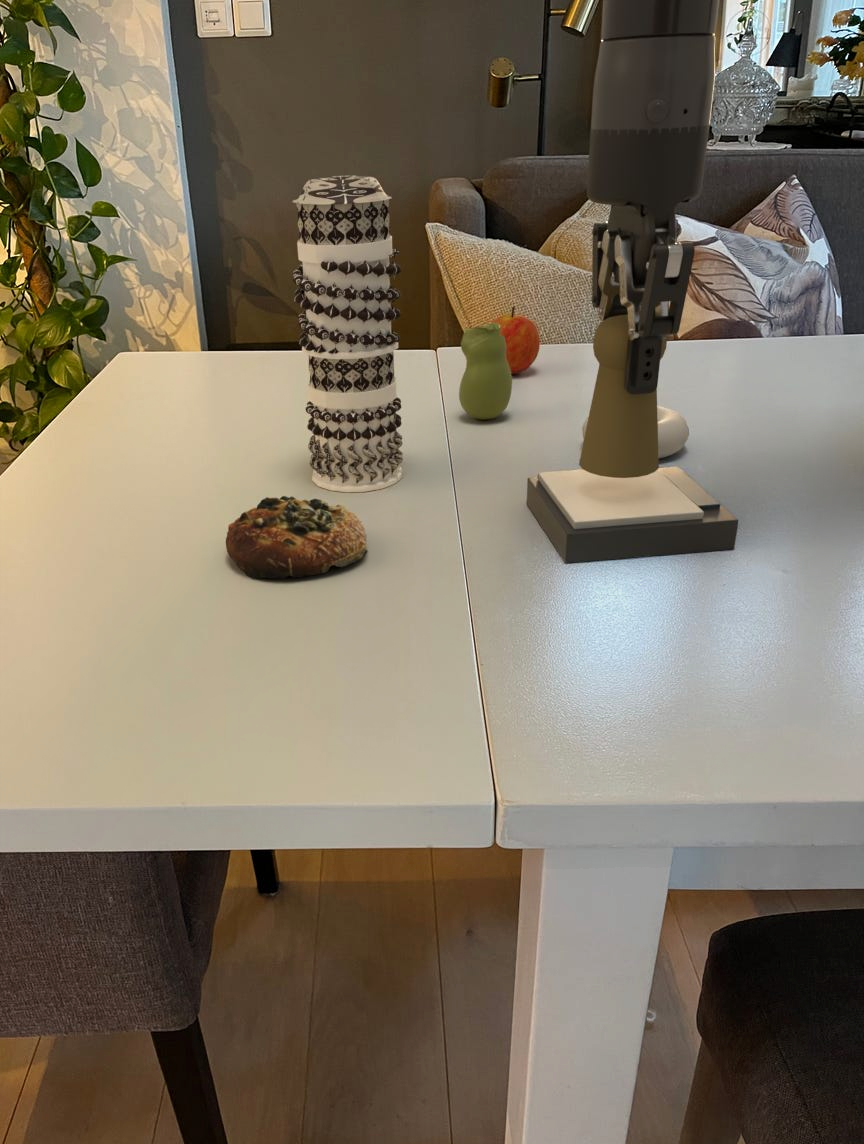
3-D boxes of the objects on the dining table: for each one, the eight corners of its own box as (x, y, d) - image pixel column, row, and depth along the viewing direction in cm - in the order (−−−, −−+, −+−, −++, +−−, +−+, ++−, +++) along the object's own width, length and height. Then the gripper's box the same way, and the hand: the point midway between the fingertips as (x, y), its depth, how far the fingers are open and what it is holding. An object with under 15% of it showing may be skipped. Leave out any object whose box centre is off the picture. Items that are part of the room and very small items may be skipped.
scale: (674, 492, 82) (678, 459, 80) (734, 549, 71) (740, 512, 70) (526, 504, 81) (527, 470, 79) (565, 563, 70) (567, 526, 69)
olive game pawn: (653, 481, 70) (670, 327, 65) (571, 473, 72) (581, 323, 67) (664, 455, 75) (680, 310, 69) (587, 448, 77) (597, 307, 71)
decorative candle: (426, 468, 89) (421, 173, 77) (369, 500, 83) (354, 183, 70) (347, 453, 94) (331, 172, 82) (288, 483, 87) (260, 182, 75)
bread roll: (207, 578, 70) (203, 511, 68) (248, 537, 80) (246, 478, 78) (356, 588, 68) (357, 520, 67) (379, 545, 79) (380, 485, 77)
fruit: (476, 368, 121) (476, 303, 117) (528, 364, 122) (530, 299, 118) (491, 382, 115) (492, 313, 111) (546, 377, 116) (549, 309, 112)
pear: (480, 429, 99) (482, 330, 94) (448, 418, 103) (448, 322, 98) (520, 418, 102) (523, 322, 97) (487, 408, 106) (488, 314, 101)
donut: (587, 431, 98) (574, 461, 89) (589, 397, 96) (576, 425, 88) (688, 437, 95) (685, 468, 87) (692, 402, 93) (689, 431, 85)
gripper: (754, 120, 56) (715, 405, 64) (665, 117, 68) (642, 356, 77) (630, 126, 55) (607, 413, 64) (563, 121, 68) (551, 362, 76)
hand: (626, 381), depth 70 cm, fingers closed on olive game pawn, 5 cm apart
